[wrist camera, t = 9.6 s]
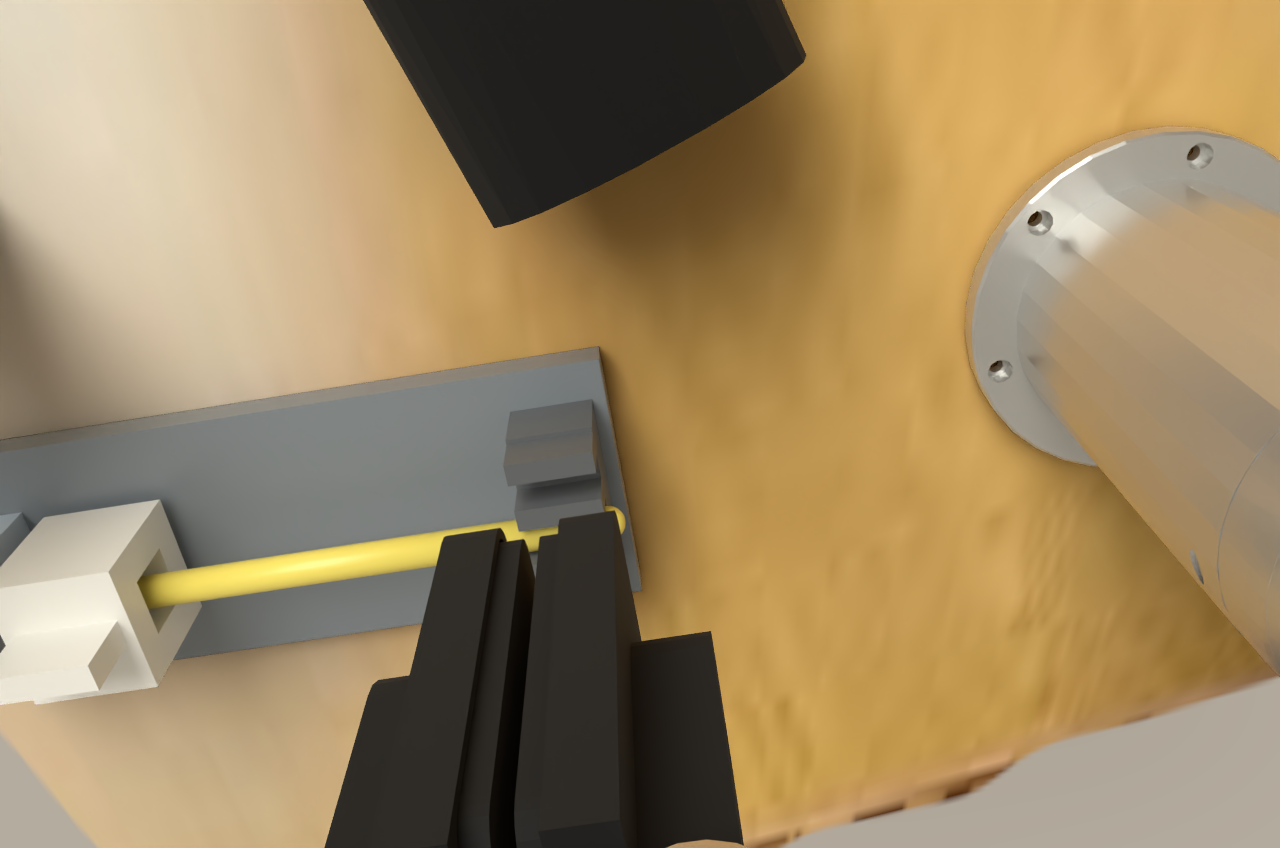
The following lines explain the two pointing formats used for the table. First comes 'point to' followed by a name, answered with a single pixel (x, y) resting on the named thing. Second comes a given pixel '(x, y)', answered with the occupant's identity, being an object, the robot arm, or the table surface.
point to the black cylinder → (579, 83)
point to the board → (341, 482)
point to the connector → (11, 540)
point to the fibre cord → (317, 565)
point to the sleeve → (89, 606)
